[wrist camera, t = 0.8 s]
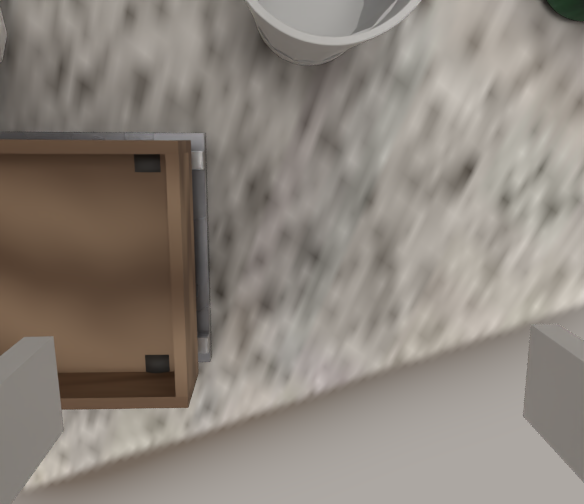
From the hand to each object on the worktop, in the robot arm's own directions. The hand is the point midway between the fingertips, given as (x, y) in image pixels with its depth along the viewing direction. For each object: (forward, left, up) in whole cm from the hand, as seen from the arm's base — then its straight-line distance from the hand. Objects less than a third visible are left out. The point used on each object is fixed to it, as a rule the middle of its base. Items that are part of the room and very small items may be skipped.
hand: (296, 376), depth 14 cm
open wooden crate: (0, -11, -17) cm, 20 cm away
